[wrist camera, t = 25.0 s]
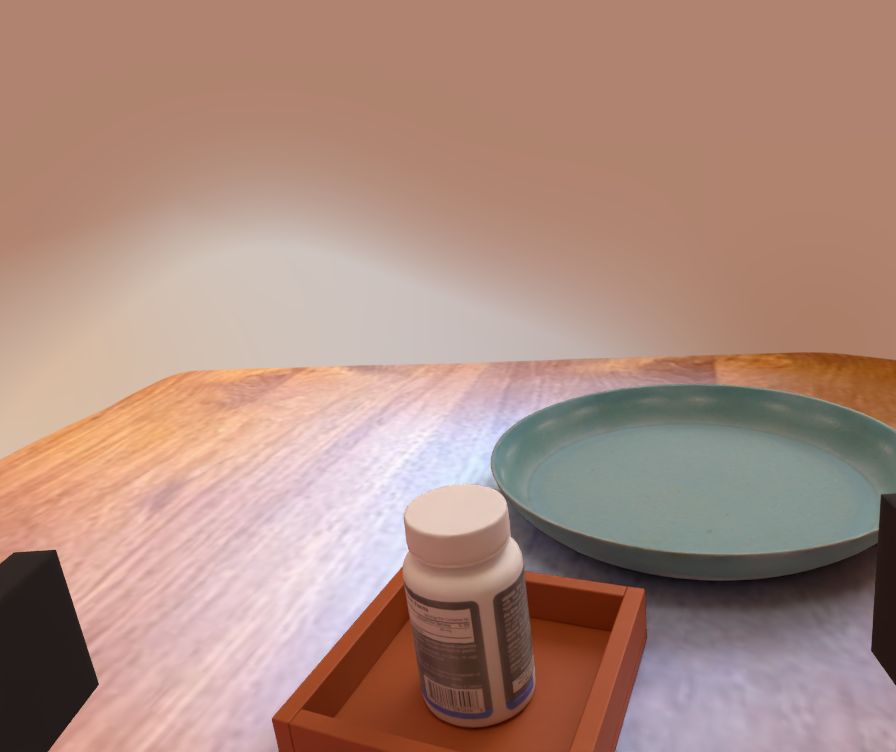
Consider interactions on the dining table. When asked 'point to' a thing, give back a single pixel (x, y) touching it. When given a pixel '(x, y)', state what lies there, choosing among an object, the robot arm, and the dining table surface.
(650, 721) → the dining table surface
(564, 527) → the saucer
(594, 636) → the burnt orange tray
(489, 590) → the pill bottle
